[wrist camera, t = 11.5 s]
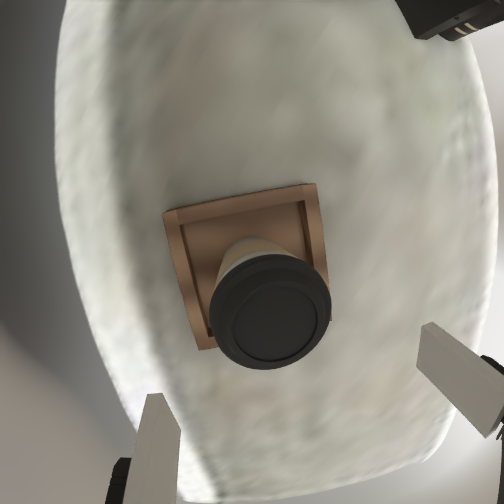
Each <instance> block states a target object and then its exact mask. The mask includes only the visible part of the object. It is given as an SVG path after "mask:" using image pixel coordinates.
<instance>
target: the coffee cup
mask: <svg viewBox="0 0 504 504" xmlns="http://www.w3.org/2000/svg"><path fill="white" fill-rule="evenodd" d="M330 317H331V297H330V293H329V290H328V287H327V285H326V283H325V282H324V280H323V278H322V277H321V276H320V274H319V273H318V272H317V271H316V270H315V269H314V268H313V267H312V266H311V265H309V264H308V263H306V262H305V261H303V260H301V259H299V258H297V257H296V256H294V255H292V254H291V253H289V252H288V251H286V250H284V249H283V248H281V247H280V246H278V245H276V244H274V243H272V242H269V241H267V240H265V239H262V238H259V237H247V238H243V239H241V240H239V241H237V242H235V243H234V244H233V245H231V246H230V247H229V249H228V250H227V251H226V253H225V255H224V257H223V260H222V264H221V266H220V269H219V273H218V277H217V280H216V284H215V288H214V292H213V295H212V298H211V302H210V307H209V322H210V327H211V330H212V333H213V335H214V337H215V340H216V342H217V344H218V346H219V348H220V349H221V350H222V352H223V353H224V354H225V355H226V356H227V357H228V358H230V359H231V360H232V361H234V362H235V363H237V364H239V365H242V366H244V367H247V368H251V369H258V370H270V369H276V368H281V367H284V366H287V365H290V364H292V363H294V362H296V361H298V360H299V359H301V358H303V357H304V356H305V355H307V354H308V353H309V352H310V351H311V350H312V349H313V348H314V347H315V346H316V345H317V344H318V343H319V341H320V340H321V338H322V337H323V335H324V333H325V331H326V329H327V327H328V324H329V321H330Z"/></svg>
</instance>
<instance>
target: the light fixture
mask: <svg viewBox="0 0 504 504" xmlns="http://www.w3.org/2000/svg"><path fill="white" fill-rule="evenodd" d="M395 1H396V3H397V5H398V6H399V8H400V10H401V12H402V14H403V16H404V17H405V19H406V21H407V23H408V25H409V27H410V29H411V31H412V33H413V36H414V38H416V39H424V40H427V39H429V38H431V37H433V36H435V35H437V34H439V35H440V36H442V37H443V38H445V39H446V40H449V41H455V40H457V39H459V38H461V37H464V36H466V35H468V34H470V33H473V32H475V31H478V30H479V29H483V28H485V27H488V26H491V25H493V24H496V23H499V22H501V21H504V0H395Z"/></svg>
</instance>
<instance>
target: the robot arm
mask: <svg viewBox="0 0 504 504" xmlns="http://www.w3.org/2000/svg"><path fill="white" fill-rule="evenodd" d="M416 367H417V368H418V369H419V370H420V371H421V372H422V373H423V374H424V375H425V376H426V377H427V378H428V379H429V380H430V381H431V382H432V383H433V384H434V385H435V386H436V387H437V388H438V389H439V390H440V391H441V392H442V393H443V394H444V395H445V396H446V397H447V399H448V400H449V401H450V402H451V403H452V404H453V405H454V406H455V407H456V408H457V409H458V410H459V411H460V412H461V413H462V414H463V415H464V416H465V417H466V418H467V419H468V420H469V422H471V424H472V425H473V426H474V427H475V428H476V429H477V430H478V431H479V432H480V433H481V434H482V435H483V437H484V438H487V437H488V436H489V435H491V434H492V433H493V432H494V431H495V430H496V429H497V427H498V425H499V424H500V422H502V423H503V424H504V367H503V366H502V365H499V363H498V362H496V361H495V360H494V359H492V358H490V357H487V356H485V355H482V356H481V357H479V356H478V355H477V354H475V353H474V352H473V351H471V350H470V349H469V348H467V347H466V346H465V345H463V344H462V343H461V342H459V341H458V340H457V339H455V338H454V337H453V336H451V335H450V334H449V333H447V332H446V331H445V330H443V329H442V328H440V327H439V326H438V325H436V324H435V323H434V322H430V323H428V324H426V325H423V326H422V328H421V337H420V344H419V352H418V358H417V364H416ZM501 434H502V437H501V440H502V460H501V461H502V462H501V475H500V486H499V494H498V501H497V504H504V425H503V426H502V428H501V430H500V432H499V434H498V435H497V438H496V440H498V439H499V437H500V436H501ZM180 436H181V429H180V427H179V425H178V423H177V421H176V419H175V417H174V416H173V414H172V412H171V410H170V408H169V406H168V404H167V402H166V400H165V398H164V396H163V393H155V394H147V397H146V401H145V405H144V409H143V413H142V417H141V421H140V425H139V429H138V433H137V438H136V442H135V446H134V451H133V455H132V458H120V459H119V460H118V461H117V463H116V464H115V465H114V468H113V472H112V478H111V480H110V485H109V488H108V492H107V497H106V501H105V504H176V493H177V476H178V461H179V448H180Z"/></svg>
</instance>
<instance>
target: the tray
mask: <svg viewBox="0 0 504 504" xmlns="http://www.w3.org/2000/svg"><path fill="white" fill-rule="evenodd" d="M162 217H163V221H164V226H165V230H166V234H167V238H168V243H169V247H170V251H171V255H172V259H173V263H174V267H175V270H176V274H177V278H178V282H179V285H180V289H181V293H182V296H183V300H184V303H185V307H186V310H187V314H188V317H189V320H190V324H191V327H192V330H193V333H194V337H195V340H196V343H197V346H198V349H199V351H200V350H205V349H211V348H216V347H219V346H218V344H217V342H216V340H215V337H214V335H213V333H212V330H211V327H210V322H209V307H210V302H211V298H212V295H213V292H214V288H215V284H216V280H217V277H218V273H219V269H220V266H221V264H222V260H223V257H224V255H225V253H226V251H227V250H228V249H229V247H230V246H231V245H233V244H234V243H235V242H237V241H239V240H241V239H243V238H247V237H259V238H262V239H265V240H267V241H269V242H272V243H274V244H276V245H278V246H280V247H281V248H283V249H284V250H286V251H288V252H289V253H291V254H292V255H294V256H296V257H297V258H299V259H301V260H303V261H305V262H306V263H308V264H309V265H311V266H312V267H313V268H314V269H315V270H316V271H317V272H318V273H319V274H320V276H321V277H322V278H323V280H324V282H325V283H326V285H327V287H328V290H329V281H328V271H327V262H326V253H325V245H324V236H323V229H322V221H321V214H320V207H319V200H318V194H317V187H316V184H300V185H294V186H288V187H282V188H276V189H270V190H265V191H259V192H254V193H248V194H243V195H238V196H233V197H228V198H223V199H218V200H213V201H208V202H203V203H199V204H194V205H190V206H185V207H181V208H176V209H172V210H168V211H166V212H164V213H162ZM329 293H330V292H329ZM330 321H332V316H331V317H330Z"/></svg>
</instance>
